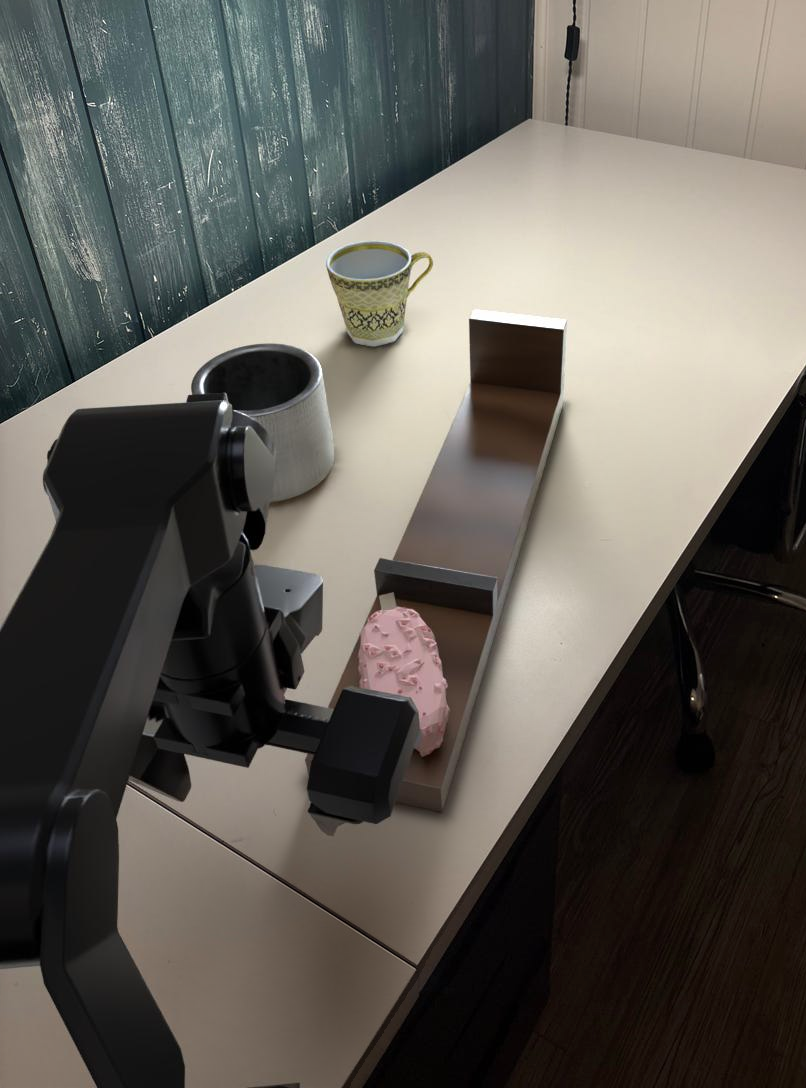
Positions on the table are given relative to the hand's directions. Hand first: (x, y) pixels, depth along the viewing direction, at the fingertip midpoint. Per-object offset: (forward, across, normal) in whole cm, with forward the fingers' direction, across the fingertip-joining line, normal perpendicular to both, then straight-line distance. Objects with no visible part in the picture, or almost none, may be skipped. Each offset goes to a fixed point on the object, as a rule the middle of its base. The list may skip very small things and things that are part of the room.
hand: (258, 810), depth 54 cm
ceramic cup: (+12, +16, -70) cm, 73 cm away
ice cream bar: (+9, -3, -17) cm, 19 cm away
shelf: (+12, -3, -34) cm, 36 cm away
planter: (+12, +19, -42) cm, 48 cm away
